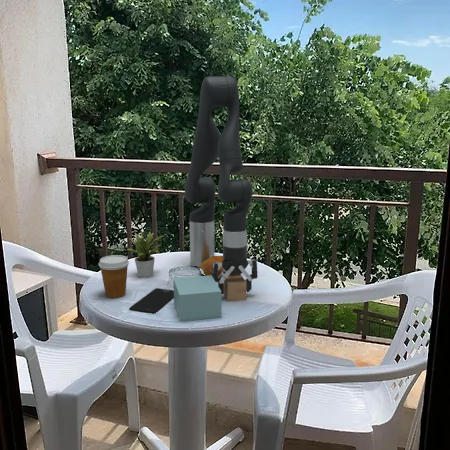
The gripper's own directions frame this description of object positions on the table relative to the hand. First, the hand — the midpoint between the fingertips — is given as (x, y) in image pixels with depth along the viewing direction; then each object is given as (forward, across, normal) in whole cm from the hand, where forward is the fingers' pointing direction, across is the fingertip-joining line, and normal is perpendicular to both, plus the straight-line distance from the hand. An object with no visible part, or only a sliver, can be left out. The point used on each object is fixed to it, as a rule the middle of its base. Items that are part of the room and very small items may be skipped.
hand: (234, 292), depth 162 cm
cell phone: (+2, +25, -3) cm, 25 cm away
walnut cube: (+2, 0, 0) cm, 2 cm away
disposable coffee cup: (+2, +37, -11) cm, 39 cm away
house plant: (+2, +26, -26) cm, 37 cm away
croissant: (+2, -1, -22) cm, 22 cm away
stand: (+2, +14, +7) cm, 15 cm away
